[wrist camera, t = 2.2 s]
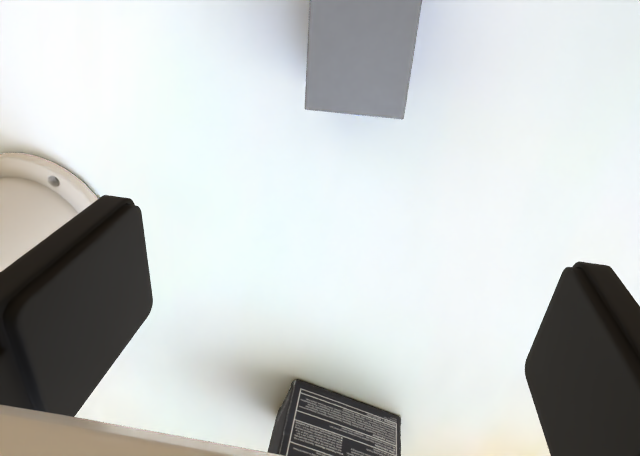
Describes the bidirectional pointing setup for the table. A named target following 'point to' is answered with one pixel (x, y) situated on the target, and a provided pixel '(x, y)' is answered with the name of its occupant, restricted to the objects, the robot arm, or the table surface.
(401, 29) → the block
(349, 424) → the small box
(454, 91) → the table surface
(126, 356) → the table surface
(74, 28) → the table surface
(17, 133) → the table surface
